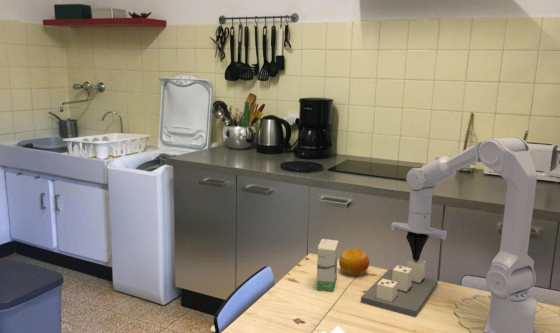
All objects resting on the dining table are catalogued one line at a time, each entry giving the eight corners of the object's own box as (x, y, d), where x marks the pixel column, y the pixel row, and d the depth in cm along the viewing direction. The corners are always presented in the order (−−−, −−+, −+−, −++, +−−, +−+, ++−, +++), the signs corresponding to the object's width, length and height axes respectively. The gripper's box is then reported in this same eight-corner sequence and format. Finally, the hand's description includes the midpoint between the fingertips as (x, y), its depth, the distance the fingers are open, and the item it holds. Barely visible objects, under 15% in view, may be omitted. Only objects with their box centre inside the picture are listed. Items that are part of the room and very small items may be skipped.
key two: (411, 286, 127) (412, 267, 126) (406, 291, 123) (407, 272, 122) (396, 282, 129) (397, 264, 128) (391, 287, 125) (392, 269, 124)
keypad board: (437, 284, 132) (438, 279, 132) (415, 317, 113) (416, 311, 113) (388, 273, 139) (389, 268, 139) (360, 302, 120) (361, 296, 120)
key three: (396, 300, 121) (397, 281, 120) (391, 306, 118) (392, 287, 117) (381, 296, 123) (382, 277, 122) (376, 302, 120) (377, 283, 119)
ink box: (334, 292, 126) (335, 249, 124) (315, 290, 127) (317, 248, 125) (337, 279, 134) (338, 239, 132) (319, 277, 135) (321, 238, 133)
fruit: (329, 260, 139) (346, 240, 137) (343, 263, 146) (359, 243, 144) (347, 281, 134) (365, 260, 132) (361, 283, 140) (378, 263, 139)
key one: (424, 277, 132) (425, 260, 131) (420, 282, 129) (421, 264, 128) (409, 274, 134) (411, 257, 133) (405, 279, 131) (406, 261, 130)
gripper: (450, 212, 128) (446, 260, 130) (398, 204, 135) (395, 249, 138) (444, 218, 122) (440, 268, 124) (390, 209, 129) (387, 257, 132)
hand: (416, 259), depth 130 cm, fingers closed
